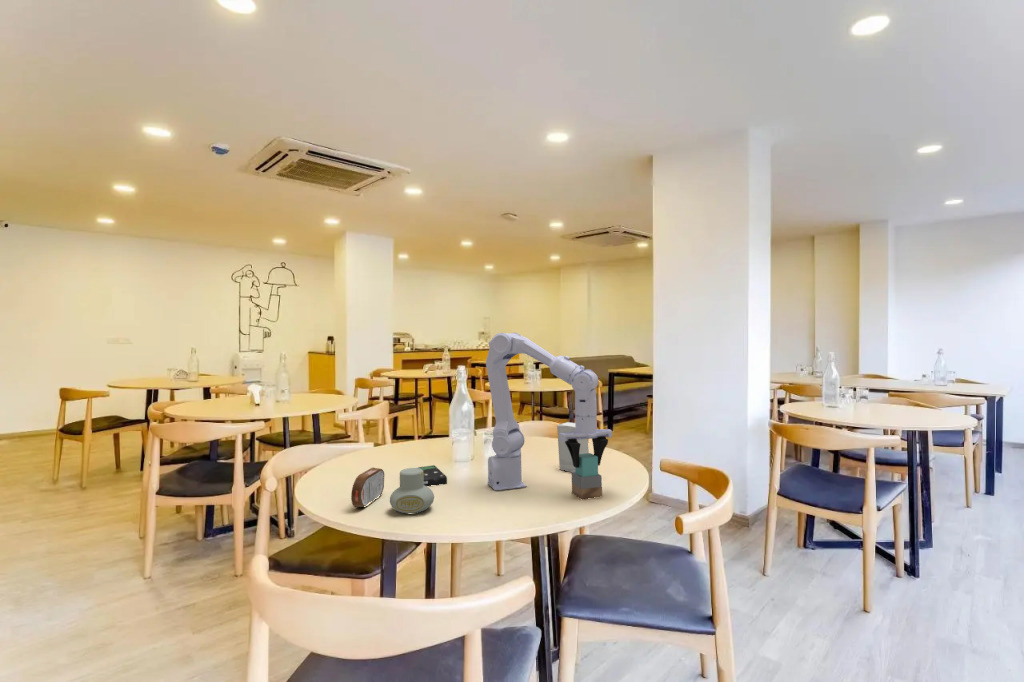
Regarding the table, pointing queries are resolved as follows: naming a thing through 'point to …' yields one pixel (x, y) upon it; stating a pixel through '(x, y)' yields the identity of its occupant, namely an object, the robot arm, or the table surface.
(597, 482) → the tower top
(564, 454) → the skincare box
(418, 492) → the air freshener
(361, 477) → the tin
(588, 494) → the tower bottom
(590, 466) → the teal block
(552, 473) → the table surface
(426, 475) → the disk drive
